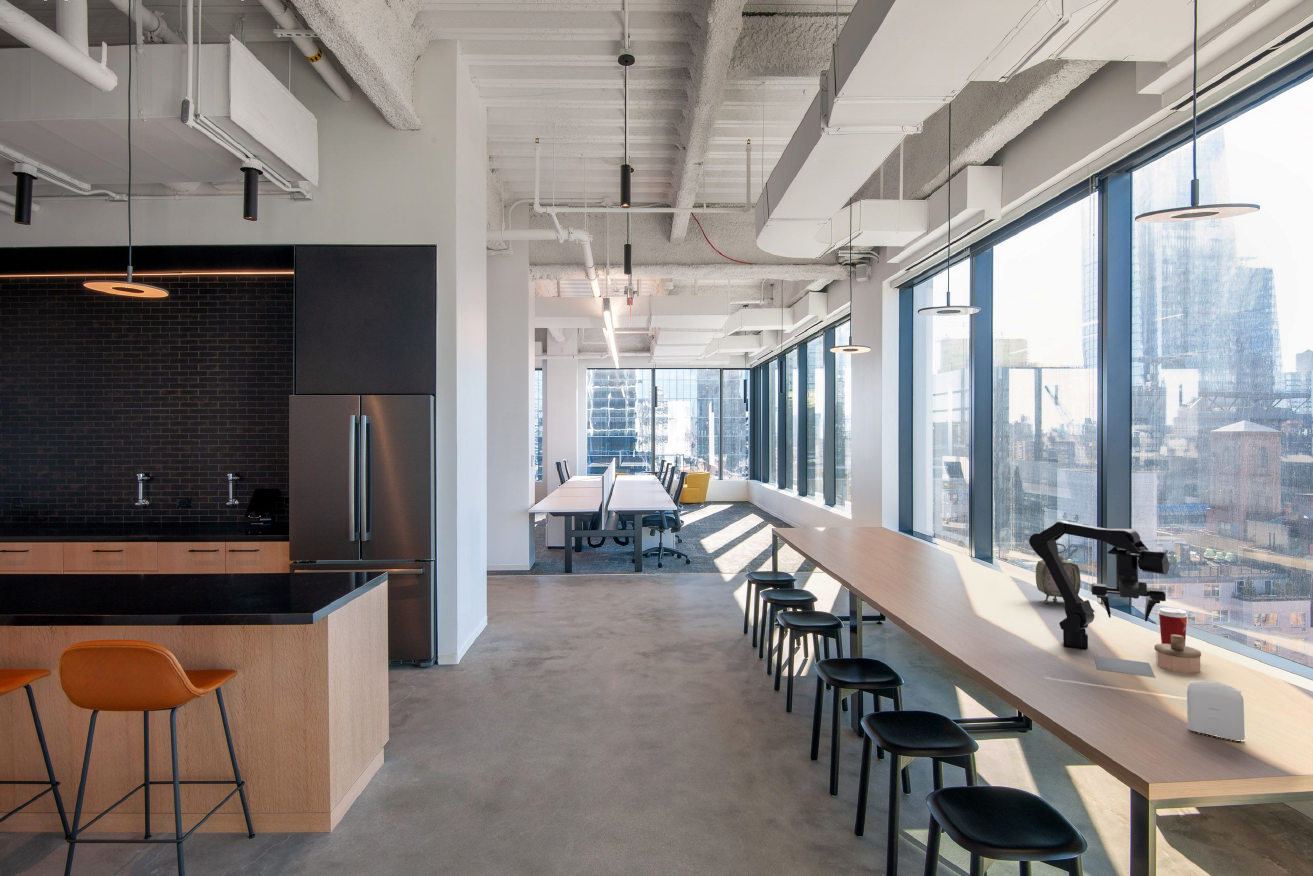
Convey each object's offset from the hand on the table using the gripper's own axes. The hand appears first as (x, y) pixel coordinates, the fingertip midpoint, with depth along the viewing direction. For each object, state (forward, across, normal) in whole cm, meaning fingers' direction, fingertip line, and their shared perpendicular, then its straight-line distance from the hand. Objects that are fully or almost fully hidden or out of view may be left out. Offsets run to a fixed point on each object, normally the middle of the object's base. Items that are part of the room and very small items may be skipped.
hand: (1127, 619), depth 208 cm
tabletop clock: (+13, -18, +71) cm, 75 cm away
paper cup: (+13, +13, +13) cm, 22 cm away
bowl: (+12, +12, -3) cm, 18 cm away
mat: (+12, -2, -10) cm, 16 cm away
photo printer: (+13, +12, -54) cm, 57 cm away
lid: (+8, +12, -3) cm, 14 cm away
